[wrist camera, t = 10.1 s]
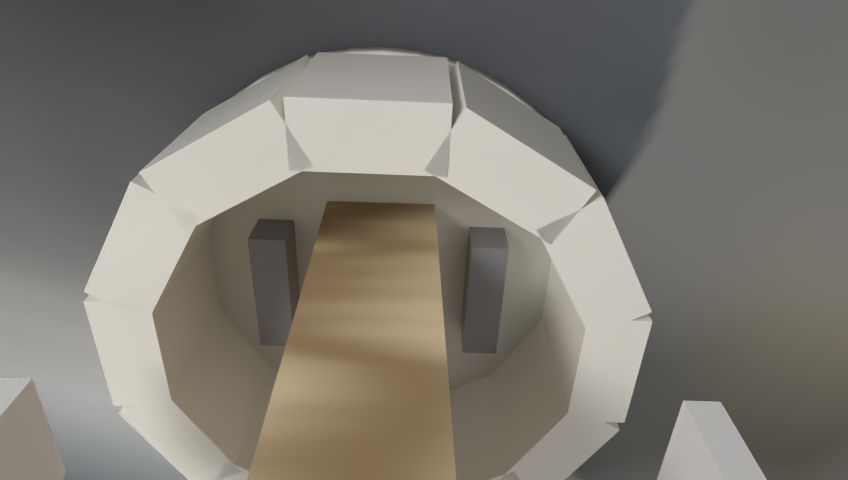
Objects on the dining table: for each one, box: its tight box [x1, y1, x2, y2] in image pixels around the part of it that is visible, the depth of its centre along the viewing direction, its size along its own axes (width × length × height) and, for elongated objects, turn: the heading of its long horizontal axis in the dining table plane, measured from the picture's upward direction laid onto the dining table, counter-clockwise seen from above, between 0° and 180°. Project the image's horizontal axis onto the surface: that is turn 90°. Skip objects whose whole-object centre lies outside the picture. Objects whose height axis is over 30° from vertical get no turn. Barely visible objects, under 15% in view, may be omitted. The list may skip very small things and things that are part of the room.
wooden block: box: [247, 201, 456, 480], centre depth 12 cm, size 3×5×14 cm, turn 178°
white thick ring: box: [83, 47, 652, 480], centre depth 17 cm, size 13×13×5 cm
